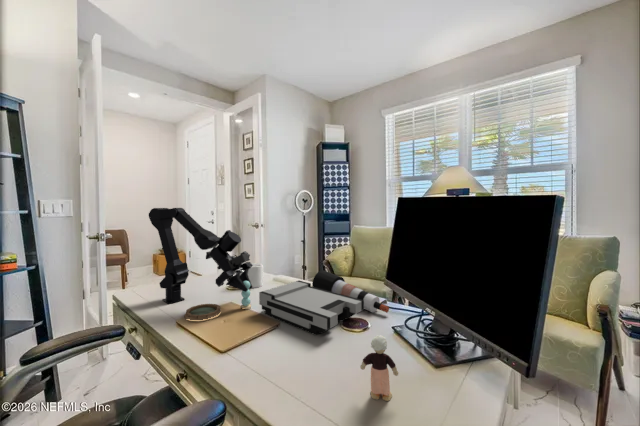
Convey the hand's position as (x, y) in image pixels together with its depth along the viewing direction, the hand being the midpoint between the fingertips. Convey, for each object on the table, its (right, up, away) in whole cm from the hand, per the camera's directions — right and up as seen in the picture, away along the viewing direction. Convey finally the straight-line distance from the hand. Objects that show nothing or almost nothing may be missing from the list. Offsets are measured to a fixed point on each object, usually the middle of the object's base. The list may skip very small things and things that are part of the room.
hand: (249, 289), depth 106 cm
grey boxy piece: (+24, -8, -7) cm, 26 cm away
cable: (+40, -8, +5) cm, 41 cm away
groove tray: (-15, -7, -6) cm, 18 cm away
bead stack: (-1, -7, +1) cm, 7 cm away
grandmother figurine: (+40, -9, -48) cm, 63 cm away
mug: (-6, -7, +28) cm, 30 cm away
